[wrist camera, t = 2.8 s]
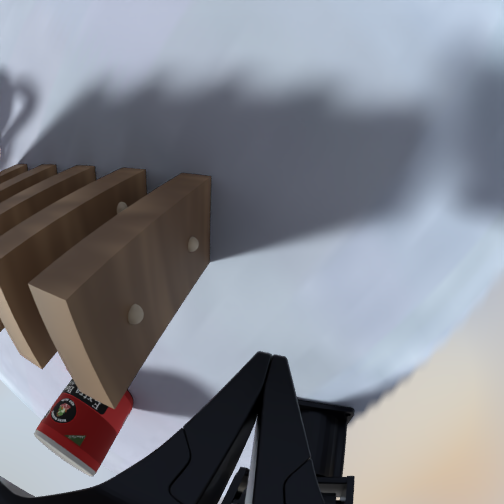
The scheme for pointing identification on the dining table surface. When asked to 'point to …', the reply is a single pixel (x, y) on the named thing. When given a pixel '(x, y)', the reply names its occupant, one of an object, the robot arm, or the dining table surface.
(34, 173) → the tile
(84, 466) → the canned food
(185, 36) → the dining table surface
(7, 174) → the tile
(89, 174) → the tile
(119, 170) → the tile
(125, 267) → the tile
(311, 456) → the robot arm
